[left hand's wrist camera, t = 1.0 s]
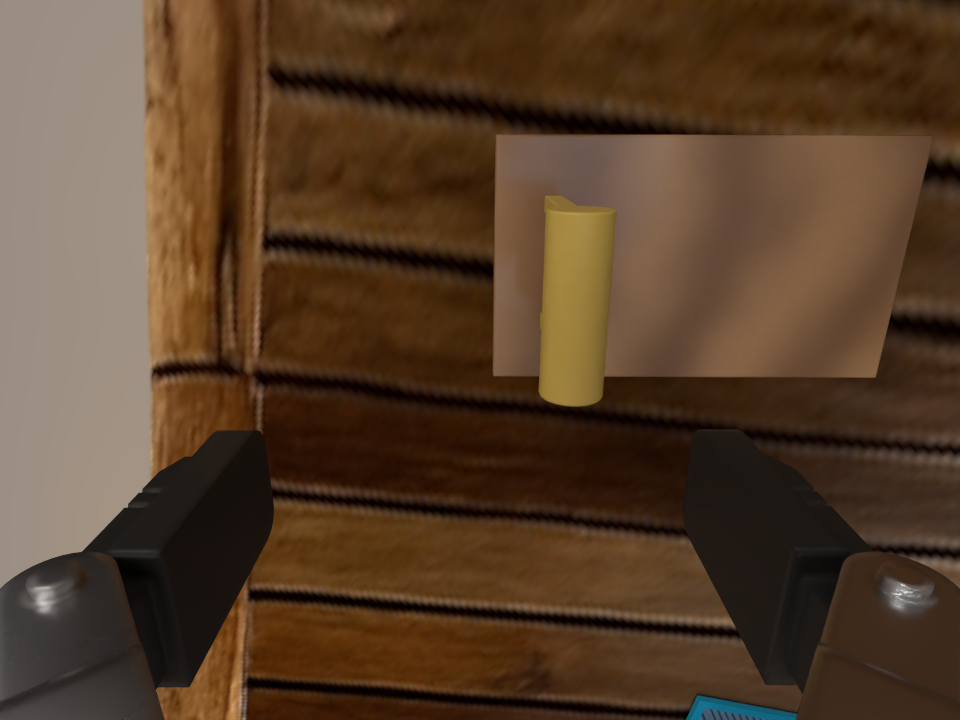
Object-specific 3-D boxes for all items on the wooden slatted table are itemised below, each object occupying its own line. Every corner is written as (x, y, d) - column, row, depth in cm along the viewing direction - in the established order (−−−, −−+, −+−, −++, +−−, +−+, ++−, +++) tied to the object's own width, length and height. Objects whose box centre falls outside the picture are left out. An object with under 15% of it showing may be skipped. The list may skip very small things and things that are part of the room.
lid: (492, 368, 27) (497, 469, 19) (495, 134, 24) (502, 128, 16) (862, 370, 27) (1033, 471, 19) (917, 136, 24) (1155, 130, 16)
